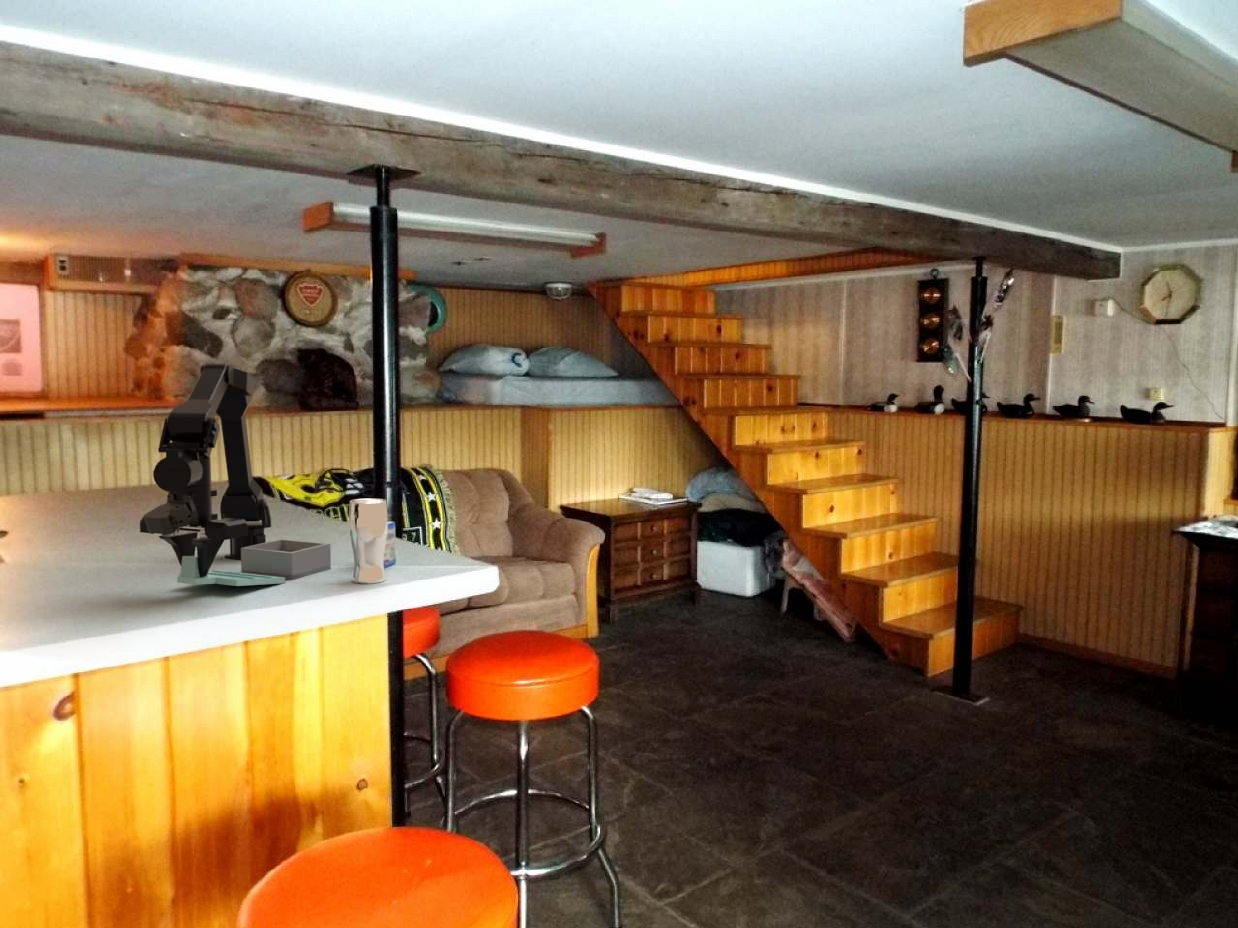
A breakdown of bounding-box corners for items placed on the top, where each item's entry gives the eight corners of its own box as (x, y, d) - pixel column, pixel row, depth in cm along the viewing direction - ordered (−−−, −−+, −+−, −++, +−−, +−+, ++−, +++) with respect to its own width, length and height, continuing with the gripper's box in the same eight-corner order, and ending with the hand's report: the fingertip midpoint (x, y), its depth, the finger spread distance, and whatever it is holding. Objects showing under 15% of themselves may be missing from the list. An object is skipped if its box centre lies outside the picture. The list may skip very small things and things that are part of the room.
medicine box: (378, 571, 180) (378, 527, 179) (357, 570, 181) (357, 526, 180) (396, 563, 187) (395, 521, 187) (376, 562, 188) (375, 520, 188)
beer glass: (353, 576, 175) (352, 498, 173) (391, 576, 175) (390, 498, 174) (346, 584, 168) (345, 503, 167) (384, 584, 169) (384, 503, 167)
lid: (156, 579, 158) (159, 553, 158) (228, 576, 173) (231, 552, 173) (216, 587, 153) (218, 559, 153) (284, 583, 168) (287, 558, 169)
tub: (241, 573, 175) (240, 548, 175) (281, 563, 186) (281, 538, 185) (292, 579, 171) (291, 553, 171) (330, 568, 181) (330, 543, 181)
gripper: (110, 487, 151) (113, 580, 153) (198, 493, 145) (200, 591, 146) (165, 480, 162) (168, 567, 163) (249, 486, 155) (251, 577, 157)
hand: (195, 575), depth 157 cm, fingers closed on lid, 3 cm apart
